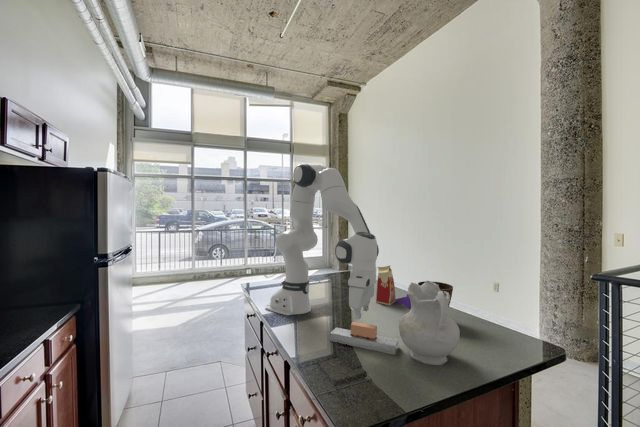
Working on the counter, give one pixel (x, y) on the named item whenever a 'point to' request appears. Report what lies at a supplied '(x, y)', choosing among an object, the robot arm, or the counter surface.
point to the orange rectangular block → (364, 330)
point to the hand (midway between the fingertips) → (362, 314)
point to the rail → (365, 341)
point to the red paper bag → (385, 286)
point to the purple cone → (404, 301)
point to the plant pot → (442, 288)
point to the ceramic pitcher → (429, 325)
